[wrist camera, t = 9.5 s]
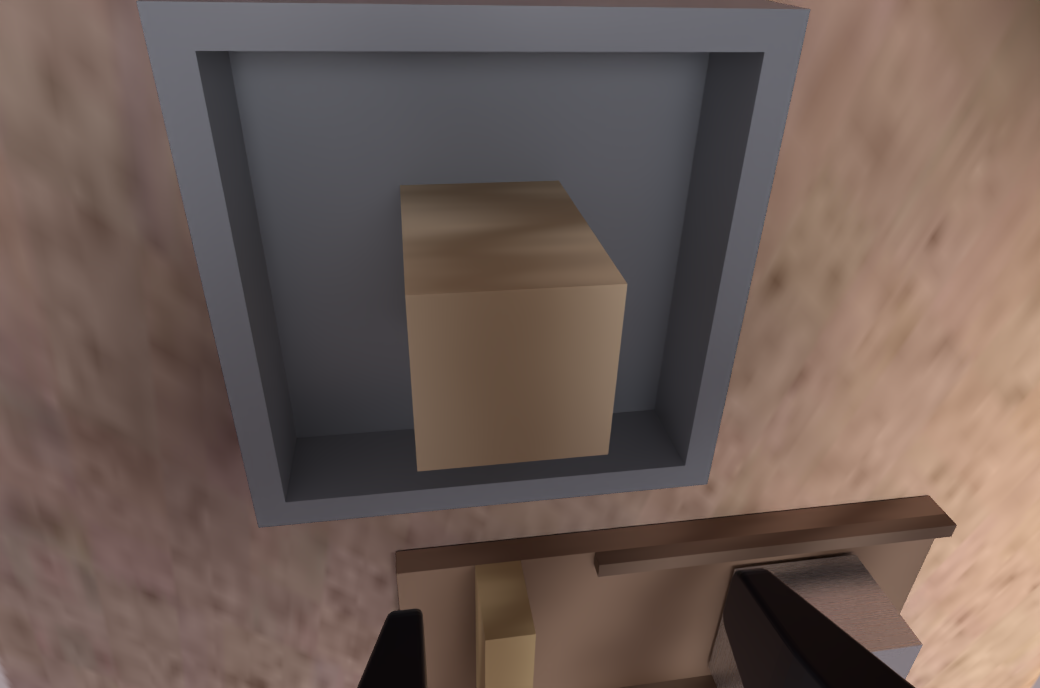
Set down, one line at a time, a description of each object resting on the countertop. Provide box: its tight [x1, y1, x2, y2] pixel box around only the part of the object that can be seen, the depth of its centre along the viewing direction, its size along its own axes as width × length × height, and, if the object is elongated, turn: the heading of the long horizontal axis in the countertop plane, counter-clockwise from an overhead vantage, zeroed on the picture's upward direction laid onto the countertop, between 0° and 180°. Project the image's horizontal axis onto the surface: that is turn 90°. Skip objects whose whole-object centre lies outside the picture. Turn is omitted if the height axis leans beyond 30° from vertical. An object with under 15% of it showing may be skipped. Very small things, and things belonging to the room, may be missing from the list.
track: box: [396, 496, 957, 688], centre depth 27 cm, size 21×9×4 cm, turn 89°
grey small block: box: [709, 555, 922, 688], centre depth 27 cm, size 5×6×4 cm
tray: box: [136, 0, 810, 528], centre depth 18 cm, size 13×13×4 cm
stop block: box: [400, 181, 627, 471], centre depth 16 cm, size 4×4×6 cm
